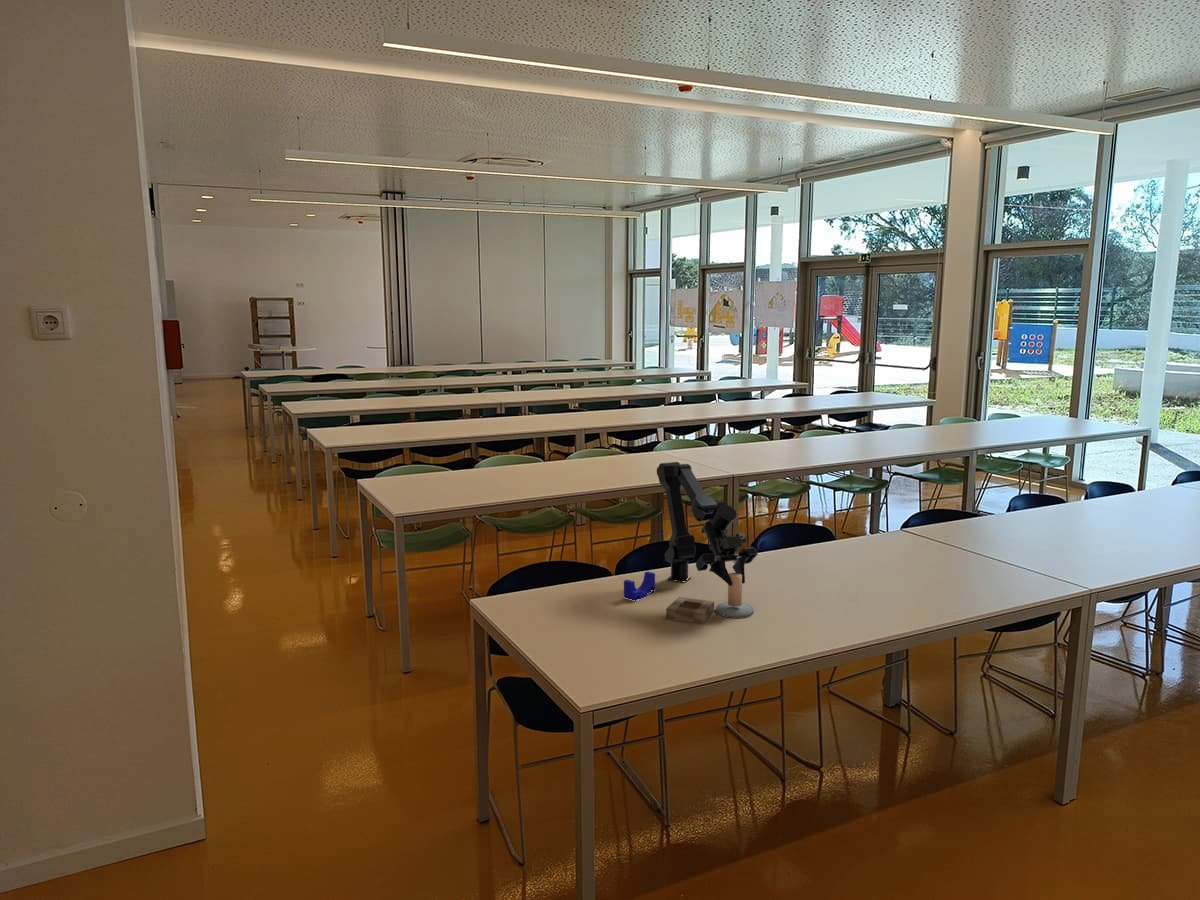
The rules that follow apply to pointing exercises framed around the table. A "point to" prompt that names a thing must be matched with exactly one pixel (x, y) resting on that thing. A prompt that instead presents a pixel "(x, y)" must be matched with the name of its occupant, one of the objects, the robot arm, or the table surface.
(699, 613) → the pocket block
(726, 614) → the slate mat
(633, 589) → the cable clip
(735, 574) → the post
